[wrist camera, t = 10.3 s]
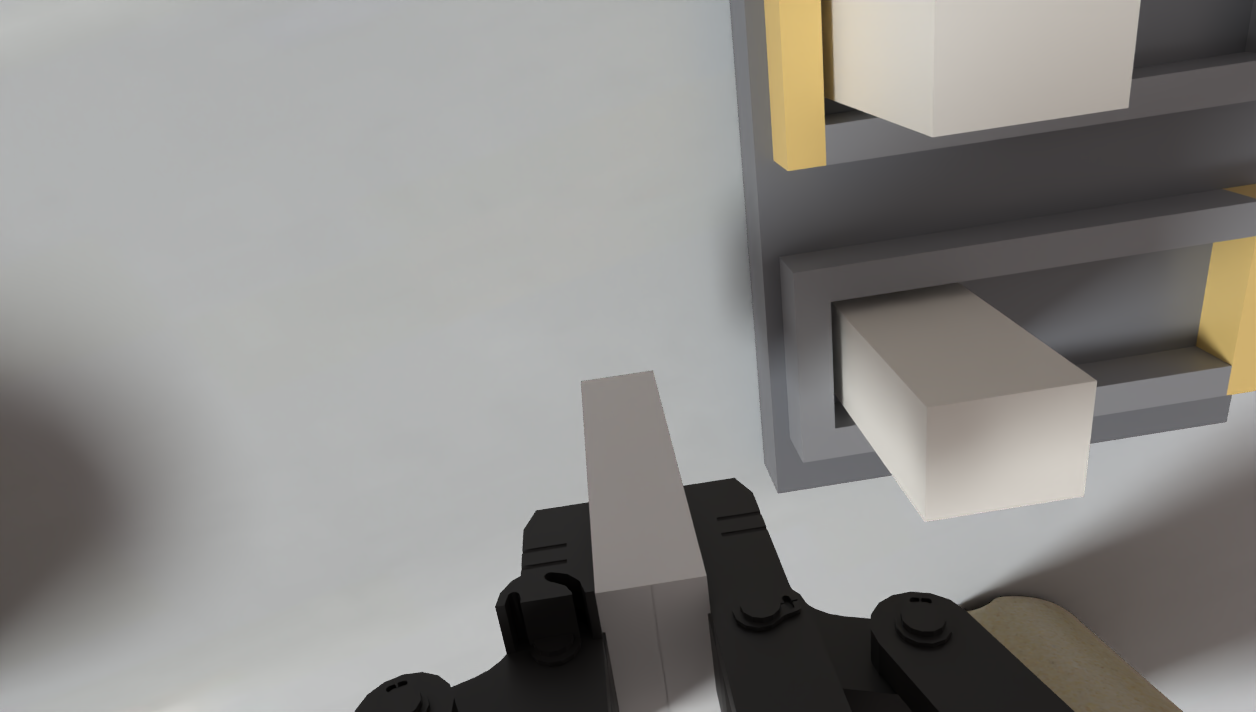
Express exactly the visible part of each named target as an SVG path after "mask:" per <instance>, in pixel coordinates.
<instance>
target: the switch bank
mask: <svg viewBox="0 0 1256 712" xmlns="http://www.w3.org/2000/svg"><path fill="white" fill-rule="evenodd" d="M730 11H731V24H732V37H733V51H734V64H735V77H736V90H737V104H738V117H739V130H740V144H741V157H742V170H743V184H744V197H745V210H746V223H747V237H748V250H749V263H750V277H751V290H752V303H753V317H754V330H755V343H756V356H757V370H758V383H759V396H760V410H761V423H762V436H763V450H764V463H765V466H766V468H767V470H768V472H769V475H770V477H771V479H772V481H773V483H774V486H775V488H776V490H777V492H778V493H784V492H790V491H797V490H803V489H809V488H816V487H822V486H828V485H834V484H841V483H847V482H853V481H859V480H866V479H872V478H878V477H884V476H891V475H892V474H891V473H890V472H889V470H888V469H887V467H886V466H885V465H884V463H883V462H882V460H881V459H880V457H879V456H878V455H877V453H876V452H875V450H874V449H873V448H872V446H871V445H870V443H869V442H868V440H867V439H866V438H865V436H864V435H863V433H862V432H861V431H860V429H859V428H858V426H857V425H856V423H855V422H854V421H853V419H852V418H851V416H850V415H849V413H848V412H847V411H846V409H845V408H844V406H843V405H842V404H841V402H840V401H839V399H838V398H837V396H836V395H835V394H834V381H833V351H832V321H831V302H834V301H840V300H847V299H853V298H860V297H866V296H873V295H879V294H885V293H892V292H898V291H905V290H911V289H918V288H924V287H931V286H937V285H944V284H950V283H956V282H958V283H960V284H961V285H962V286H964V287H965V288H967V289H968V290H970V291H971V292H972V293H974V294H975V295H977V296H978V297H979V298H981V299H982V300H984V301H985V302H986V303H988V304H989V305H991V306H992V307H994V308H995V309H996V310H998V311H999V312H1001V313H1002V314H1003V315H1005V316H1006V317H1008V318H1009V319H1011V320H1012V321H1013V322H1015V323H1016V324H1018V325H1019V326H1020V327H1022V328H1023V329H1025V330H1026V331H1027V332H1029V333H1030V334H1032V335H1033V336H1035V337H1036V338H1037V339H1039V340H1040V341H1042V342H1043V343H1044V344H1046V345H1047V346H1049V347H1050V348H1051V349H1053V350H1054V351H1056V352H1057V353H1059V354H1060V355H1061V356H1063V357H1064V358H1066V359H1067V360H1068V361H1070V362H1071V363H1073V364H1074V365H1076V366H1077V367H1078V368H1080V369H1081V370H1083V371H1084V372H1085V373H1087V374H1088V375H1090V376H1091V377H1092V378H1094V379H1095V380H1097V387H1096V396H1095V404H1094V413H1093V422H1092V431H1091V439H1090V444H1091V443H1097V442H1104V441H1110V440H1116V439H1123V438H1129V437H1135V436H1141V435H1148V434H1154V433H1160V432H1166V431H1173V430H1179V429H1185V428H1191V427H1198V426H1204V425H1210V424H1217V423H1223V422H1227V417H1228V411H1229V406H1230V401H1231V396H1232V395H1233V394H1239V393H1245V392H1252V391H1256V0H1141V2H1140V11H1139V19H1138V28H1137V37H1136V46H1135V54H1134V63H1133V72H1132V81H1131V89H1130V98H1129V107H1128V108H1124V109H1117V110H1111V111H1104V112H1097V113H1091V114H1084V115H1077V116H1071V117H1064V118H1058V119H1051V120H1044V121H1038V122H1031V123H1025V124H1018V125H1011V126H1005V127H998V128H991V129H985V130H978V131H972V132H965V133H958V134H952V135H945V136H938V137H930V136H927V135H925V134H922V133H919V132H917V131H914V130H911V129H909V128H906V127H903V126H900V125H898V124H895V123H892V122H890V121H887V120H884V119H882V118H879V117H876V116H874V115H871V114H868V113H865V112H863V111H860V110H857V109H855V108H852V107H849V106H847V105H844V104H841V103H839V102H836V101H833V100H830V99H828V98H825V97H824V80H823V50H822V20H821V0H730Z"/></svg>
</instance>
